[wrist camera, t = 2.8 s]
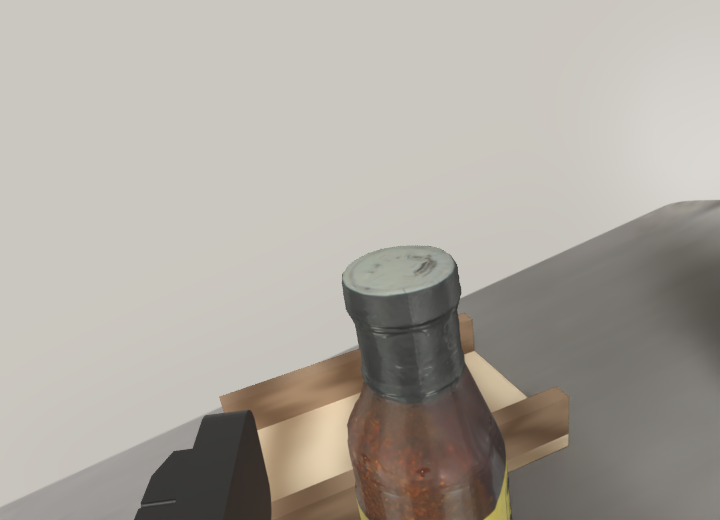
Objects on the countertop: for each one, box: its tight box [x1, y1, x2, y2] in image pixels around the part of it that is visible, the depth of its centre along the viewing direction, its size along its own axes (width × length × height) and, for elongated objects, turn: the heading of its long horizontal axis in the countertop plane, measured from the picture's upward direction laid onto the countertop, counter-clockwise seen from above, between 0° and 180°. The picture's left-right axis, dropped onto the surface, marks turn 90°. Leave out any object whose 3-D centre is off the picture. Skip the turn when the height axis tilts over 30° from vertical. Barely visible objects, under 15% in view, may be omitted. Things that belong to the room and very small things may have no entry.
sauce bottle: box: [342, 246, 512, 520], centre depth 24 cm, size 6×6×20 cm
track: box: [220, 313, 569, 520], centre depth 40 cm, size 20×12×4 cm, turn 112°
